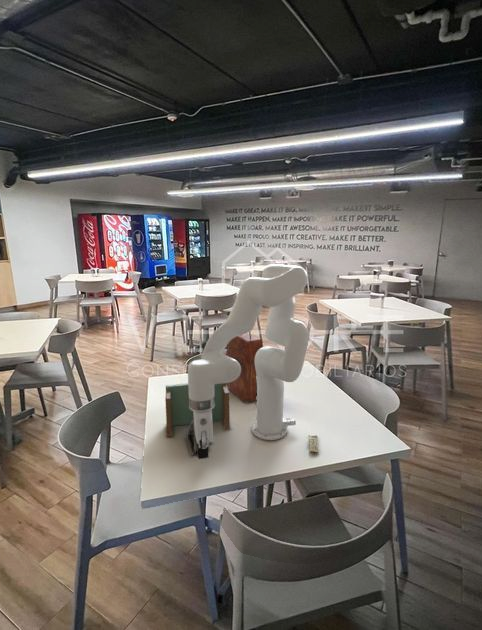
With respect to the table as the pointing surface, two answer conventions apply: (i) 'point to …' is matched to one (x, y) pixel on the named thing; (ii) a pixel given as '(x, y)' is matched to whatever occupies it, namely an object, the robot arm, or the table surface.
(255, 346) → the handbag
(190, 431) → the chocolate cake
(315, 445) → the snack bar
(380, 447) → the table surface
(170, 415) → the cubby shelf
